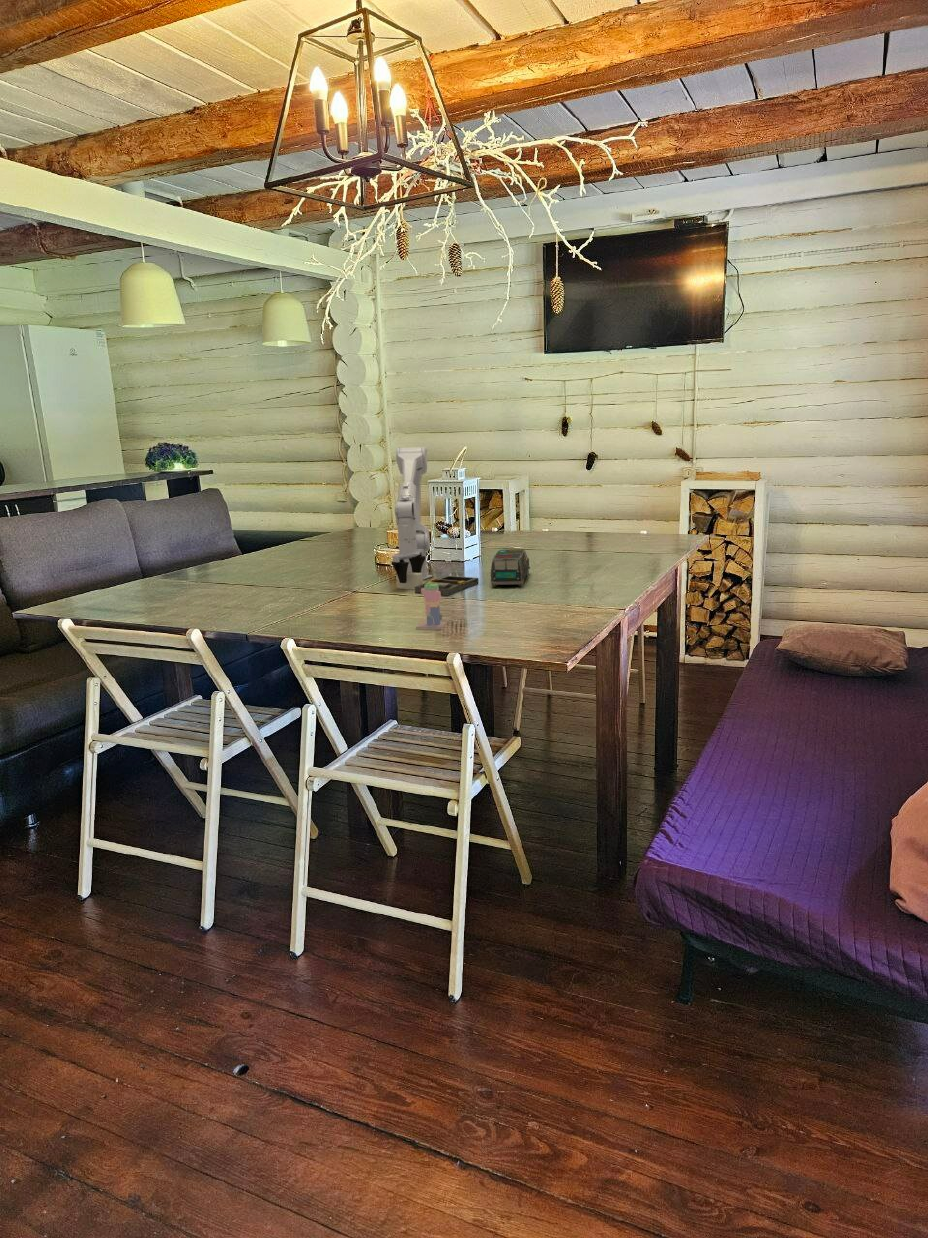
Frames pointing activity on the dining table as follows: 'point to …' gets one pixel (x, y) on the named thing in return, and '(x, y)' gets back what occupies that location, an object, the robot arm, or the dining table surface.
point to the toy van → (509, 567)
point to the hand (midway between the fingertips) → (409, 580)
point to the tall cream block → (411, 581)
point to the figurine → (432, 608)
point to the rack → (450, 584)
